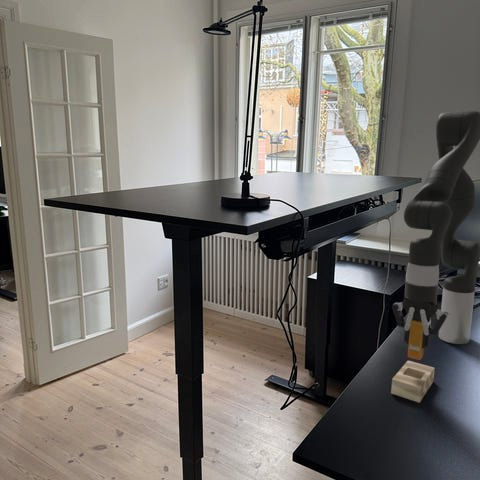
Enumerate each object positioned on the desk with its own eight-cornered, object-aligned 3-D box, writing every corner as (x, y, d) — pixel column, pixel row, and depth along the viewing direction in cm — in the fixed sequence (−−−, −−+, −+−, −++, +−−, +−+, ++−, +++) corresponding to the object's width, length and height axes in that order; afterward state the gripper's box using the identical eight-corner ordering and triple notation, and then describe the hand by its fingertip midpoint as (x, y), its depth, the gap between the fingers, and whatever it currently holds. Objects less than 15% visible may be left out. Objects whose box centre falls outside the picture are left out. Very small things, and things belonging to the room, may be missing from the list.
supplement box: (421, 360, 111) (423, 323, 109) (407, 357, 113) (409, 320, 111) (424, 356, 114) (427, 319, 112) (410, 353, 116) (413, 316, 114)
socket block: (406, 373, 122) (407, 360, 122) (433, 381, 118) (434, 367, 118) (391, 393, 112) (392, 379, 112) (419, 402, 108) (420, 387, 107)
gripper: (455, 282, 109) (449, 347, 112) (398, 273, 117) (393, 334, 120) (448, 289, 103) (442, 358, 106) (388, 279, 111) (384, 343, 114)
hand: (416, 345), depth 113 cm, fingers closed on supplement box, 3 cm apart
